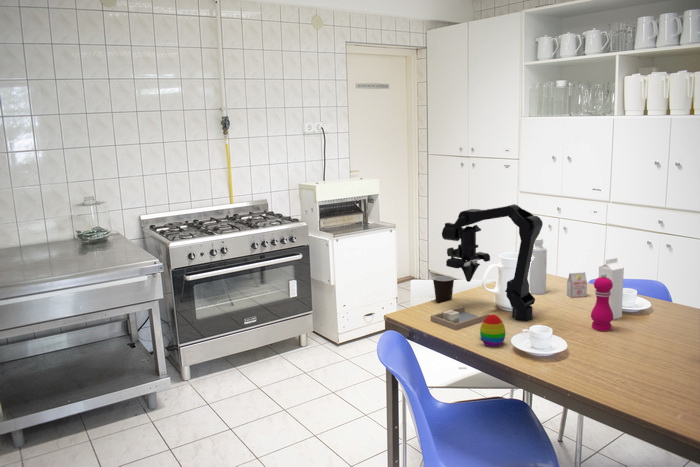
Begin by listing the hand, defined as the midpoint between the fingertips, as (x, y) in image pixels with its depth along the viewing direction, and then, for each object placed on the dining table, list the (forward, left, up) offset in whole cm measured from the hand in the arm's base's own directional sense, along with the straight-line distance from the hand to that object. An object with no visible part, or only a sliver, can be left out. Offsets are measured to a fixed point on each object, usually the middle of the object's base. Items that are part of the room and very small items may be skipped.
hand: (468, 281), depth 223 cm
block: (-8, +18, -10) cm, 22 cm away
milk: (-39, -33, -12) cm, 52 cm away
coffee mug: (+16, -3, -12) cm, 20 cm away
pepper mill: (-44, -20, -12) cm, 50 cm away
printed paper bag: (-16, -47, -12) cm, 51 cm away
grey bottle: (-2, -40, -12) cm, 42 cm away
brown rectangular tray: (-8, +14, -12) cm, 20 cm away
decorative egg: (-29, +19, -12) cm, 37 cm away
